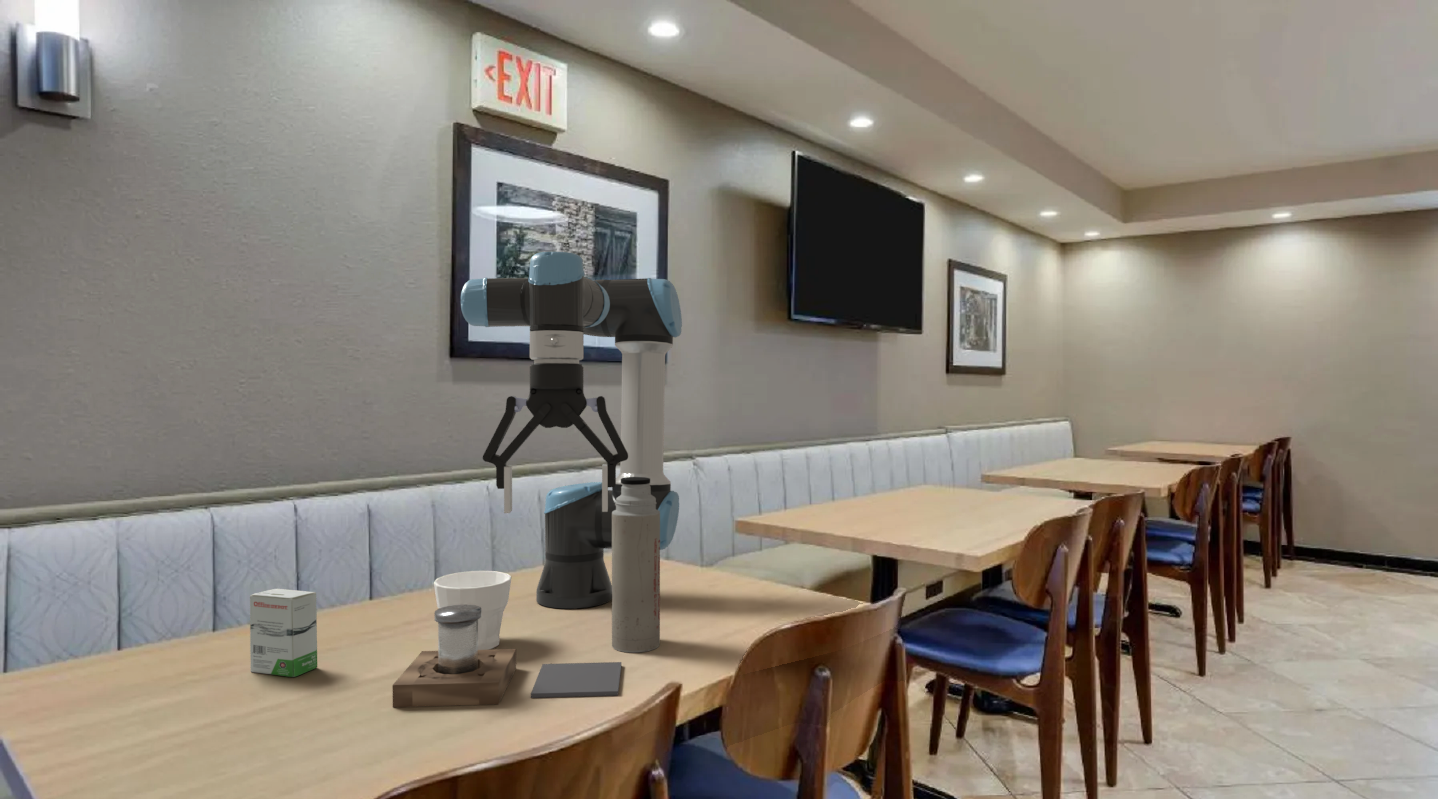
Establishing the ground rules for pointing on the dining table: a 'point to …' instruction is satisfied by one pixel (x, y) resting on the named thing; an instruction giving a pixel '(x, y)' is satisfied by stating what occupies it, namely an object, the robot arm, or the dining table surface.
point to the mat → (577, 680)
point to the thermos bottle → (635, 568)
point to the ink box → (283, 632)
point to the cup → (477, 599)
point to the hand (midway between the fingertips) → (556, 511)
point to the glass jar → (457, 638)
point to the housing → (455, 681)
